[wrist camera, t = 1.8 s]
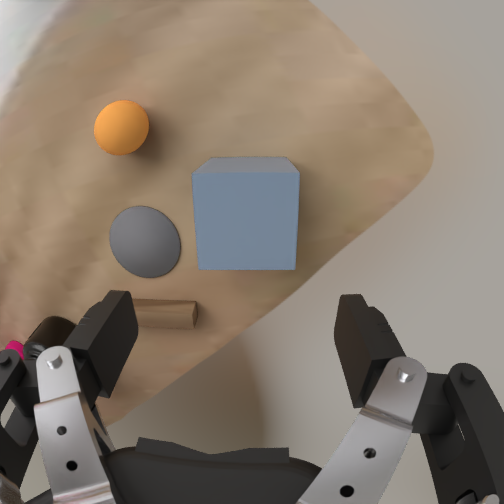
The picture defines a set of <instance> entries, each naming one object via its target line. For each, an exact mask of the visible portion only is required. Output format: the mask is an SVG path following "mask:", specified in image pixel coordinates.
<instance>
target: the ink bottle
mask: <svg viewBox="0 0 504 504" xmlns="http://www.w3.org/2000/svg"><path fill="white" fill-rule="evenodd" d="M75 327H76V326H75V325H74V324H72V323H71V322H70V321H68V320H66V319H64V318H61V317H56V316H51V317H48V318H46V319H44V320H43V322H42V323H41V324H40V325H39V326H38V327H37V328H36V330H35V331H34V332H33V333H32V335H31V336H30V337H29V338H28V340H27V341H26V343H25V344H24V346H23V358H24V359H23V361H26V360H37V359H38V357H39V355H40V354H41V353H42V352H43V351H45V350H46V349H48V348H51V347H55V346H62V345H63V344H64V342H65V341H66V340H67V338H68V337H69V335H70V334H71V333H72V331H73V330H74V329H75Z"/></svg>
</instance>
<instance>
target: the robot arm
mask: <svg viewBox="0 0 504 504" xmlns="http://www.w3.org/2000/svg"><path fill="white" fill-rule="evenodd" d="M137 336H138V322H137V318H136V314H135V309H134V305H133V301H132V297H131V294H130V292H129V291H116V290H111V291H109V292H108V294H107V295H106V296H105V298H104V299H103V300H102V302H98V303H97V304H95V305H94V306H92V307H91V308H89V310H88V311H87V312H86V314H85V315H84V316H83V318H82V319H81V320H80V322H79V325H77V326H76V327H75V329H74V330H73V331H72V333H71V334H70V335H69V337H68V338H67V340H66V341H65V342H64V344H63V345H62V346H55V347H51V348H48V349H46V350H45V351H43V352H42V353H41V354H40V355H39V357H38V359H37V360H26V361H23V360H22V358H21V356H20V355H19V353H18V351H16V350H14V349H6V350H3V351H1V352H0V416H1V413H2V411H3V409H4V408H5V406H6V404H7V402H8V400H9V399H11V400H12V402H13V403H14V404H15V406H16V407H15V408H14V410H13V412H12V414H11V416H10V418H9V420H8V422H7V424H6V426H5V428H3V427H2V425H1V421H0V504H378V502H379V500H380V499H381V497H382V495H383V493H384V491H385V489H386V487H387V485H388V483H389V481H390V479H391V477H392V475H393V473H394V471H395V469H396V467H397V465H398V463H399V461H400V459H401V456H402V454H403V452H404V449H405V447H406V445H407V442H408V440H409V437H410V435H411V433H420V436H421V440H422V443H423V446H424V449H425V453H426V456H427V459H428V463H429V467H430V470H431V474H432V478H433V482H434V486H435V490H436V494H437V498H438V503H439V504H504V412H503V410H502V408H501V406H500V404H499V402H498V400H497V398H496V397H495V395H494V393H493V391H492V389H491V388H490V386H489V384H488V382H487V381H486V379H485V377H484V375H483V374H482V372H481V371H480V370H479V369H478V368H476V367H475V366H473V365H471V364H468V363H458V364H456V365H454V366H453V367H452V368H451V370H450V372H449V373H448V375H447V374H436V373H428V372H426V369H425V367H424V366H423V365H422V364H421V363H420V362H418V361H417V360H415V359H413V358H409V357H406V355H405V353H404V351H403V349H402V347H401V345H400V343H399V342H398V340H397V338H396V336H395V334H394V333H393V332H392V329H391V327H390V325H388V322H387V320H386V318H385V317H384V315H383V314H382V313H381V312H380V311H379V310H377V309H376V308H375V307H368V305H367V304H366V302H365V300H364V298H363V296H362V295H361V294H348V295H341V297H340V300H339V306H338V312H337V317H336V322H335V328H334V340H335V345H336V348H337V352H338V355H339V358H340V362H341V365H342V369H343V372H344V375H345V379H346V382H347V386H348V389H349V393H350V396H351V400H352V404H353V407H354V408H361V407H362V409H361V411H360V412H359V414H358V416H357V417H356V419H355V421H354V422H353V424H352V425H351V427H350V429H349V430H348V432H347V433H346V435H345V437H344V438H343V440H342V441H341V443H340V444H339V446H338V447H337V449H336V450H335V452H334V453H333V455H332V456H331V458H330V459H329V460H328V462H327V463H326V465H325V466H324V467H323V469H322V468H320V467H318V466H316V465H314V464H312V463H310V462H307V461H304V460H300V459H297V458H292V457H289V448H248V449H243V450H238V451H231V452H225V453H219V454H206V453H203V452H199V451H196V450H193V449H190V448H187V447H184V446H181V445H178V444H176V443H173V442H166V441H159V440H153V439H146V438H141V437H139V439H138V442H137V445H136V447H127V448H122V449H117V450H116V449H115V447H114V445H113V443H112V441H111V439H110V437H109V434H108V432H107V429H106V427H105V424H104V422H103V419H102V416H101V414H100V411H99V408H98V406H97V404H96V402H95V401H96V399H97V397H98V396H101V397H106V398H110V396H111V393H112V391H113V389H114V386H115V384H116V382H117V380H118V378H119V375H120V373H121V371H122V369H123V367H124V365H125V362H126V360H127V358H128V356H129V354H130V352H131V350H132V348H133V345H134V343H135V341H136V339H137ZM458 424H459V425H458ZM459 426H460V428H459ZM460 429H461V430H460ZM461 431H462V433H461ZM462 434H463V436H464V438H463V436H462ZM38 440H39V443H40V448H41V452H42V457H43V461H44V465H45V469H46V473H47V477H48V480H49V484H50V487H51V488H50V489H49V490H47V491H45V492H43V493H42V494H40V495H38V496H36V497H34V498H33V499H31V500H29V501H27V502H25V503H24V501H23V500H22V499H21V494H20V491H19V489H20V487H21V484H22V481H23V478H24V475H25V472H26V470H27V467H28V464H29V462H30V459H31V457H32V454H33V452H34V449H35V447H36V444H37V442H38ZM464 440H465V441H464Z"/></svg>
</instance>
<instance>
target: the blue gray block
mask: <svg viewBox="0 0 504 504" xmlns="http://www.w3.org/2000/svg"><path fill="white" fill-rule="evenodd" d="M299 181H300V173H299V171H298V170H297V169H296V168H295V167H294V166H293V164H292V163H291V162H290V161H289V160H288V159H287V158H286V157H218V158H210V159H209V160H208V161H207V162H205V163H204V164H203V165H202V166H200V167H199V168H198V169H197V170H196V171H194V172H193V173H192V189H193V205H194V219H195V232H196V244H197V256H198V267H199V270H295V264H296V248H297V229H298V208H299Z"/></svg>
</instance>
